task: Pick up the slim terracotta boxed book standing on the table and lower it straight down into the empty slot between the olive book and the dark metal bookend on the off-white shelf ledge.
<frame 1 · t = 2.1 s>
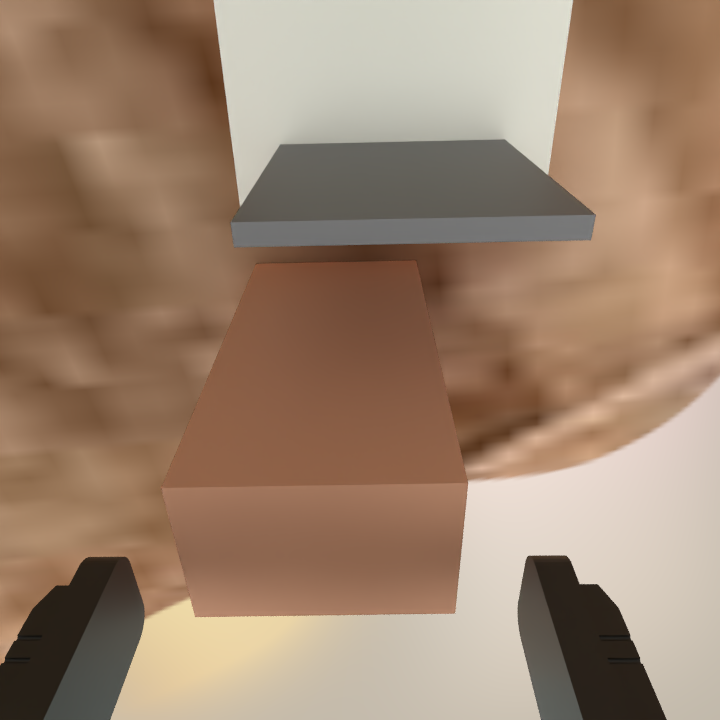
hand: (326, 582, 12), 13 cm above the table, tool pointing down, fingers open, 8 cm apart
terracotta book: (338, 310, 23), on the table
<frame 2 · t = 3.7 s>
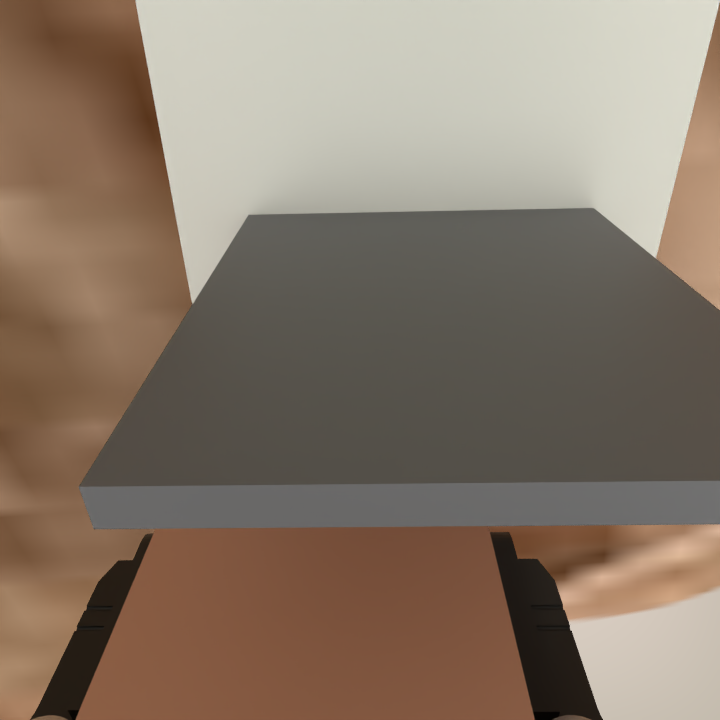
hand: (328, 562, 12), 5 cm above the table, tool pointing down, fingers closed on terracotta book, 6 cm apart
terracotta book: (339, 424, 16), on the table, touching gripper
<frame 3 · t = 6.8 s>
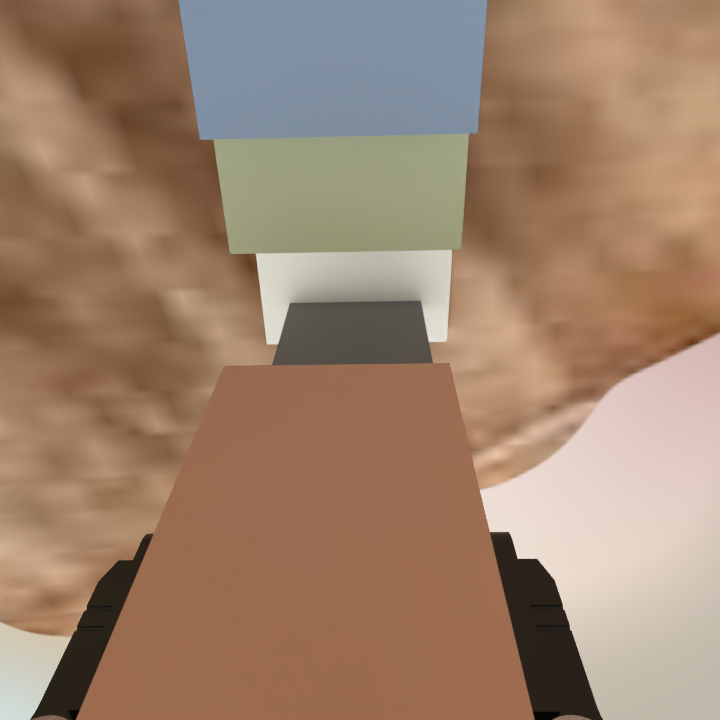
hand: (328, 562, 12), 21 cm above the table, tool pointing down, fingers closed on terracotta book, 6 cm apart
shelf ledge: (352, 170, 29), on the table
terracotta book: (339, 425, 16), point 16 cm above the table, touching gripper
when the fingers open (7 cm above the table, at t = 10.2 s): terracotta book stays where it is, resting on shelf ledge.
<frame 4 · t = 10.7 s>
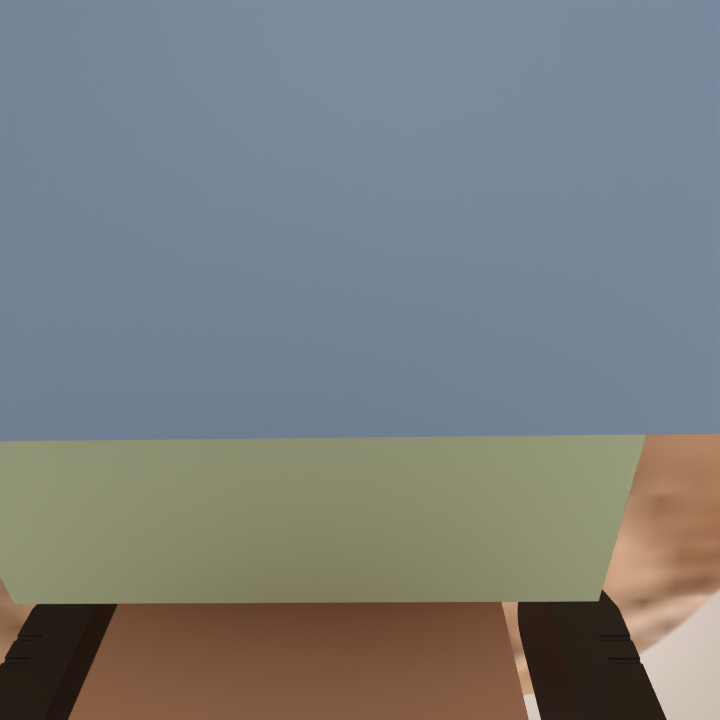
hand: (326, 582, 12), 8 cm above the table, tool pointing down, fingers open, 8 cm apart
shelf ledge: (336, 276, 17), on the table
terracotta book: (337, 405, 17), point 1 cm above the table, touching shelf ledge
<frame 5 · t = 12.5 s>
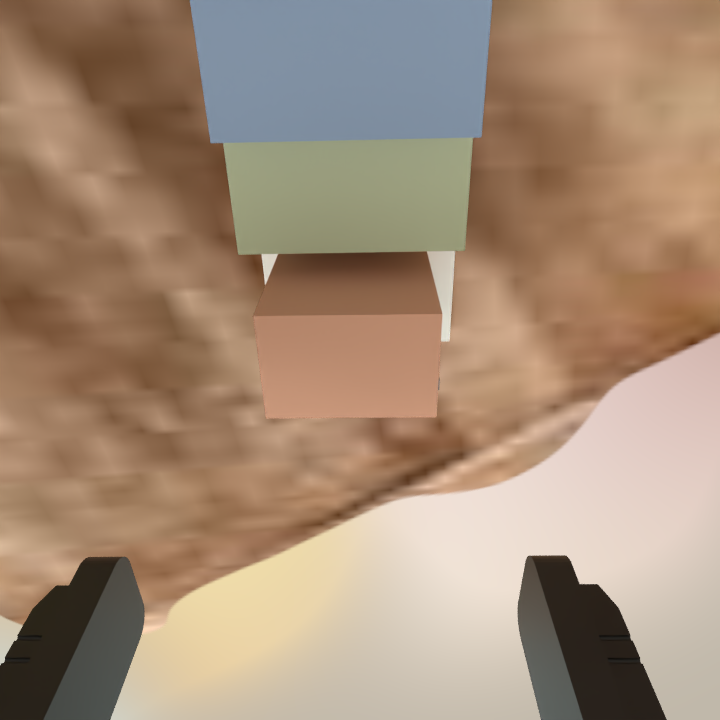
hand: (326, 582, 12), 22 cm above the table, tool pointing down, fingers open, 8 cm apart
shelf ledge: (356, 172, 29), on the table
terracotta book: (356, 248, 30), point 1 cm above the table, touching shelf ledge
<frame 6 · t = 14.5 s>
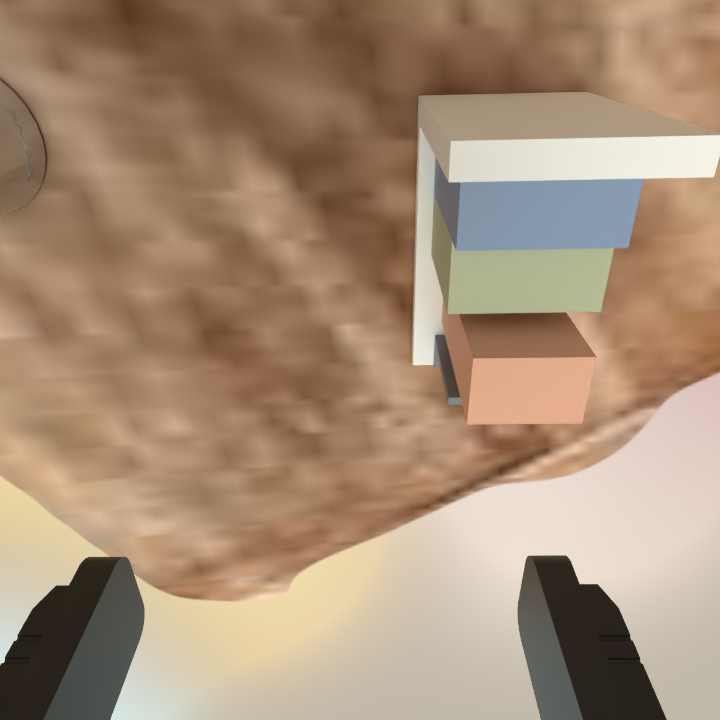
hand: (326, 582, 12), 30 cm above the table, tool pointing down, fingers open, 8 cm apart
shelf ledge: (488, 239, 39), on the table
terracotta book: (486, 295, 39), point 1 cm above the table, touching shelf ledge
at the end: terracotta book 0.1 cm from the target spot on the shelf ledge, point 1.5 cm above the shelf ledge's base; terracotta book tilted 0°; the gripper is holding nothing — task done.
